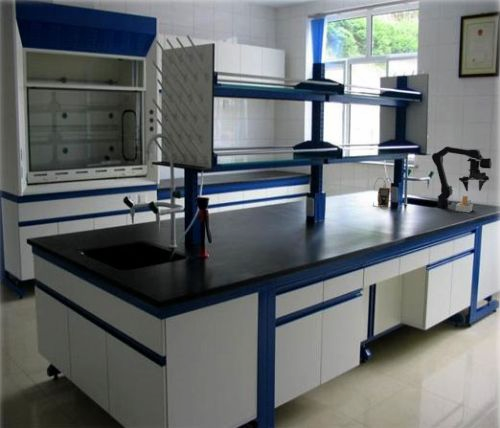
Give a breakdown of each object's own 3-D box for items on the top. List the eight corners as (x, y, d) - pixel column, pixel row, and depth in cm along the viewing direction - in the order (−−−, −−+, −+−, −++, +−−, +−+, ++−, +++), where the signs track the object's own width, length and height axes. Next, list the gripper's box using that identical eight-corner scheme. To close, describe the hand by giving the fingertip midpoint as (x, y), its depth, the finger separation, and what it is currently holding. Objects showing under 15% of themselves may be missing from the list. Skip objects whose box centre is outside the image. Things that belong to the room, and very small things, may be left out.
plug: (458, 208, 384) (459, 196, 382) (460, 207, 389) (461, 195, 387) (467, 210, 381) (469, 197, 379) (469, 208, 386) (470, 196, 384)
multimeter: (371, 207, 387) (373, 178, 383) (372, 205, 396) (374, 177, 392) (393, 209, 383) (395, 180, 379) (394, 206, 392) (396, 178, 388)
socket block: (455, 210, 383) (456, 205, 383) (458, 208, 392) (458, 202, 391) (469, 212, 379) (470, 206, 378) (471, 210, 387) (472, 204, 387)
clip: (465, 205, 379) (465, 202, 378) (468, 203, 388) (468, 199, 388) (467, 206, 378) (468, 202, 377) (470, 203, 388) (470, 200, 387)
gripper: (467, 169, 368) (466, 193, 371) (494, 168, 370) (492, 192, 373) (459, 168, 379) (458, 190, 382) (485, 167, 381) (483, 190, 384)
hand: (473, 191), depth 380 cm, fingers open, 9 cm apart
